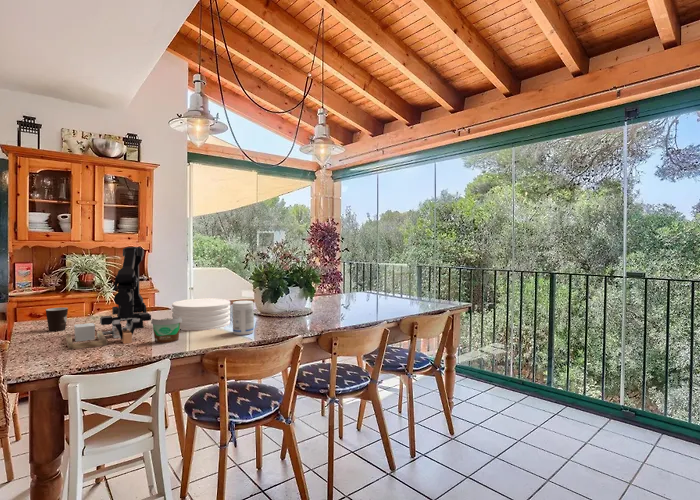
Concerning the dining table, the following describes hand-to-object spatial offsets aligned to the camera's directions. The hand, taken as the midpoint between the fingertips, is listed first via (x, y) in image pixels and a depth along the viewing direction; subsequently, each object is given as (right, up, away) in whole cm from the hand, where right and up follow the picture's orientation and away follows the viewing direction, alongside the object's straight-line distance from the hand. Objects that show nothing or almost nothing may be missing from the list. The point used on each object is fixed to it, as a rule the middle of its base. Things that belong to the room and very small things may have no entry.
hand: (126, 338), depth 177 cm
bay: (-15, -1, -3) cm, 16 cm away
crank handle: (0, -1, 0) cm, 1 cm away
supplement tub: (+45, -1, +18) cm, 49 cm away
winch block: (-9, -1, +8) cm, 12 cm away
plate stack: (+20, -1, +36) cm, 41 cm away
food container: (+18, -2, 0) cm, 18 cm away
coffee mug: (-42, 0, +20) cm, 47 cm away
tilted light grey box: (-19, -1, +3) cm, 19 cm away
